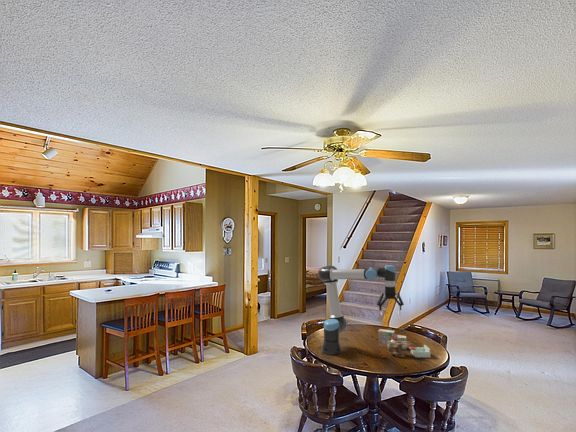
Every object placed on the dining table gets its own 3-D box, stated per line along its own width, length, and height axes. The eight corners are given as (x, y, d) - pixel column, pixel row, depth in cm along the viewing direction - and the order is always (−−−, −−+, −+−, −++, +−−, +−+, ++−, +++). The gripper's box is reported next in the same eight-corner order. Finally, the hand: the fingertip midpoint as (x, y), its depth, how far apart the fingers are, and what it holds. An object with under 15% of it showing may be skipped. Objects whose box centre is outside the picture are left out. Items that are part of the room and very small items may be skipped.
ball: (391, 345, 249) (391, 340, 250) (389, 343, 253) (389, 339, 253) (395, 345, 249) (395, 340, 250) (394, 343, 253) (394, 339, 253)
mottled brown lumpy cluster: (391, 354, 243) (391, 345, 243) (387, 349, 254) (387, 340, 254) (416, 355, 242) (416, 345, 242) (411, 349, 253) (410, 340, 254)
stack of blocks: (406, 347, 266) (406, 332, 267) (405, 350, 261) (405, 334, 261) (379, 343, 276) (379, 328, 277) (378, 345, 271) (377, 330, 271)
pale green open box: (415, 357, 245) (415, 349, 246) (410, 352, 255) (410, 344, 256) (430, 357, 245) (430, 349, 245) (425, 352, 255) (425, 344, 255)
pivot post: (396, 356, 247) (396, 345, 247) (393, 352, 255) (393, 341, 255) (404, 356, 246) (404, 345, 247) (401, 352, 255) (401, 341, 255)
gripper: (376, 287, 245) (376, 316, 244) (408, 286, 248) (408, 315, 247) (372, 285, 253) (372, 313, 252) (403, 285, 256) (403, 313, 255)
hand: (390, 314), depth 249 cm, fingers open, 13 cm apart
